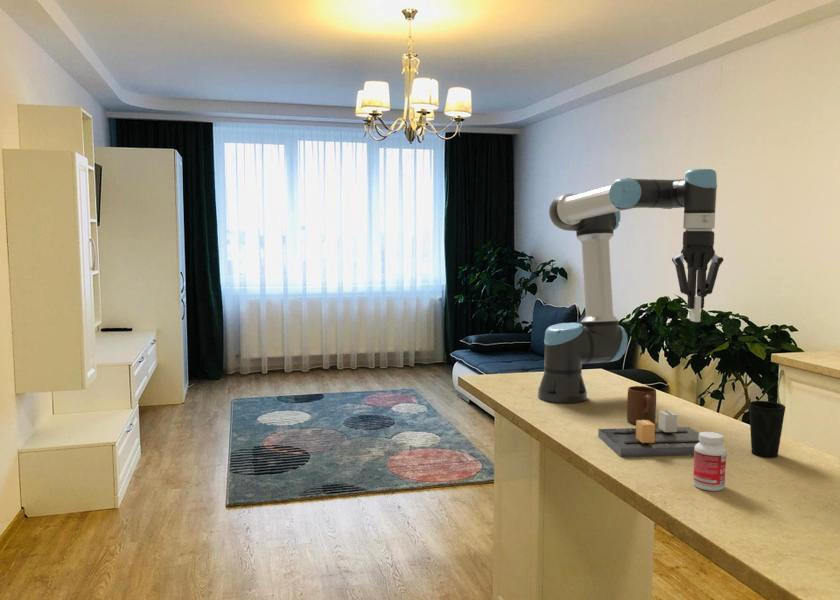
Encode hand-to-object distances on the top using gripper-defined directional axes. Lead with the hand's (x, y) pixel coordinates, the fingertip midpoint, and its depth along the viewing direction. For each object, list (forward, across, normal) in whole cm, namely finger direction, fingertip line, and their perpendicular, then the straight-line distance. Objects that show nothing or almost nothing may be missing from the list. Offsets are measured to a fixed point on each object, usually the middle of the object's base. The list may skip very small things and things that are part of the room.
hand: (695, 321), depth 180 cm
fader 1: (+27, -19, -15) cm, 36 cm away
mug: (+30, -10, +7) cm, 32 cm away
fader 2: (+27, -9, -7) cm, 29 cm away
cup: (+30, +9, -20) cm, 37 cm away
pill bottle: (+30, -14, -38) cm, 51 cm away
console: (+29, -14, -11) cm, 34 cm away
